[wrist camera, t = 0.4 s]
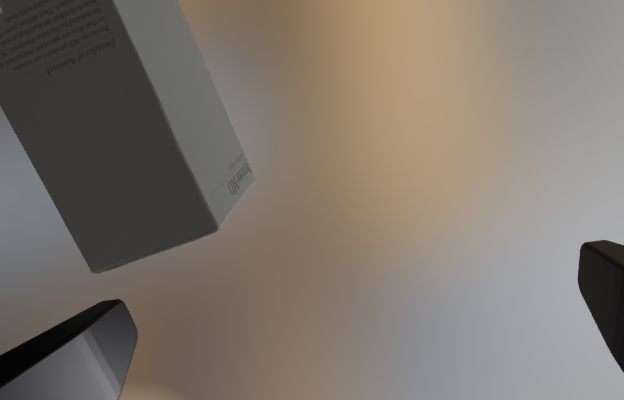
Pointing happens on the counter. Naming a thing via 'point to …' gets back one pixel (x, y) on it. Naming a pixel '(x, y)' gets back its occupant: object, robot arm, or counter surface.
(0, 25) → the ring
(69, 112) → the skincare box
